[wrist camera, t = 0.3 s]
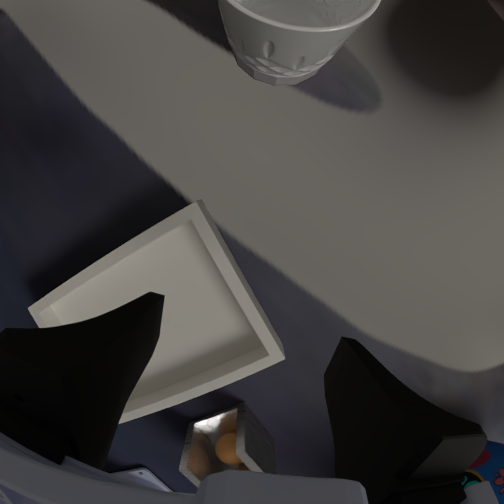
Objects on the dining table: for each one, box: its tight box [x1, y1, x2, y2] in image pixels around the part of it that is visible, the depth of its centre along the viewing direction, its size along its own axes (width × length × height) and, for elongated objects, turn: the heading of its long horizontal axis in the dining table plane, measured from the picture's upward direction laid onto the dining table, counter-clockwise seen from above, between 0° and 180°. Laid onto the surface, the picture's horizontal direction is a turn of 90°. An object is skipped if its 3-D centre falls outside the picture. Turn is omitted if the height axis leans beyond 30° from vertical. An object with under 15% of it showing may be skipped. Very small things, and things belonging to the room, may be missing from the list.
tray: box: [28, 200, 285, 424], centre depth 22 cm, size 16×12×2 cm
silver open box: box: [179, 402, 278, 487], centre depth 23 cm, size 6×6×6 cm
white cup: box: [217, 0, 381, 86], centre depth 15 cm, size 8×8×10 cm
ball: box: [215, 433, 243, 465], centre depth 24 cm, size 3×3×3 cm
